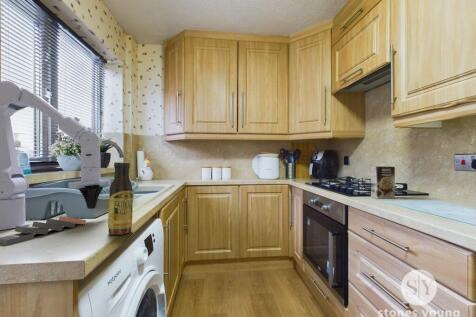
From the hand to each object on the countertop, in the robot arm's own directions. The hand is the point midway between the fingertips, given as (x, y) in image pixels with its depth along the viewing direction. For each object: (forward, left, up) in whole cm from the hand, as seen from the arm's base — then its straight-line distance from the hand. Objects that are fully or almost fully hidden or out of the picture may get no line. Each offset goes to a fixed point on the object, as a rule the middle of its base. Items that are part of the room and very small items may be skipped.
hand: (91, 208), depth 87 cm
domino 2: (+5, -14, -4) cm, 16 cm away
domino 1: (+6, -18, -4) cm, 19 cm away
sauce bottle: (+21, -1, -4) cm, 22 cm away
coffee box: (+66, +113, -4) cm, 132 cm away
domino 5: (+1, -4, -4) cm, 5 cm away
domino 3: (+4, -11, -4) cm, 12 cm away
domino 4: (+2, -7, -4) cm, 8 cm away
